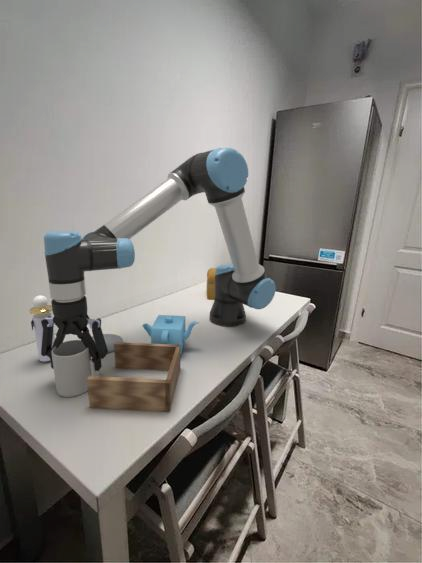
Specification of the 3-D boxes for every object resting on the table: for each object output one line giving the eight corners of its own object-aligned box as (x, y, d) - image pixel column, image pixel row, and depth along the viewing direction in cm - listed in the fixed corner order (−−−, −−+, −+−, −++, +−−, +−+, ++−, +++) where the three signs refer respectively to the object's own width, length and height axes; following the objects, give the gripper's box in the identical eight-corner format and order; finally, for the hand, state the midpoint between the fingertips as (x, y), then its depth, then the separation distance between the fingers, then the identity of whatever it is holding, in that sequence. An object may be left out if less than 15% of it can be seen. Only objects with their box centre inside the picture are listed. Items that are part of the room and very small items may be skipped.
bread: (206, 300, 138) (207, 270, 134) (206, 292, 151) (207, 265, 147) (255, 301, 139) (257, 272, 135) (250, 293, 152) (252, 266, 148)
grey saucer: (128, 336, 98) (128, 334, 97) (114, 356, 85) (114, 353, 85) (91, 335, 98) (91, 333, 98) (72, 354, 85) (72, 351, 85)
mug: (68, 402, 65) (63, 360, 62) (49, 388, 70) (43, 349, 67) (111, 377, 75) (108, 340, 72) (92, 366, 79) (88, 331, 76)
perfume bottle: (61, 353, 86) (54, 291, 80) (56, 363, 80) (47, 298, 75) (41, 355, 84) (31, 292, 79) (33, 365, 79) (23, 299, 74)
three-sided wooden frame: (180, 368, 80) (180, 344, 78) (169, 411, 63) (169, 383, 61) (116, 365, 80) (115, 341, 78) (89, 407, 64) (86, 379, 62)
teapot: (149, 337, 98) (148, 307, 95) (200, 339, 98) (201, 309, 95) (136, 361, 83) (134, 327, 80) (196, 364, 82) (197, 329, 79)
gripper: (118, 294, 69) (123, 373, 75) (35, 290, 70) (46, 369, 76) (107, 304, 62) (113, 391, 68) (13, 300, 63) (28, 386, 69)
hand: (78, 379), depth 72 cm, fingers closed on mug, 9 cm apart
